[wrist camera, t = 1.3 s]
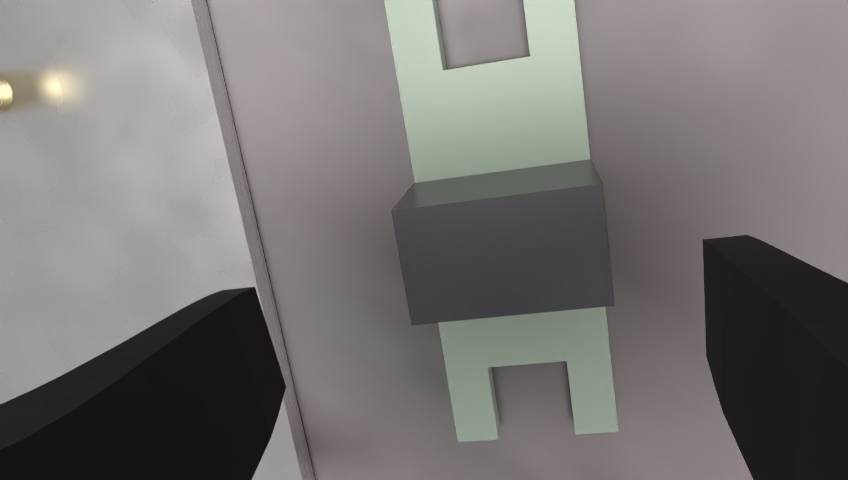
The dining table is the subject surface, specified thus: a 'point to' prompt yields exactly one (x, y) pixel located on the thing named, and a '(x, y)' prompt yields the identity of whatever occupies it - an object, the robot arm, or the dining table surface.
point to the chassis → (121, 191)
